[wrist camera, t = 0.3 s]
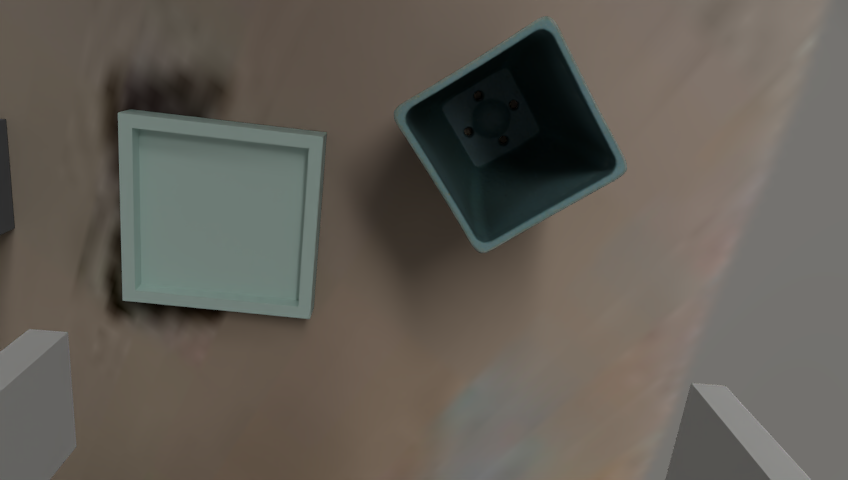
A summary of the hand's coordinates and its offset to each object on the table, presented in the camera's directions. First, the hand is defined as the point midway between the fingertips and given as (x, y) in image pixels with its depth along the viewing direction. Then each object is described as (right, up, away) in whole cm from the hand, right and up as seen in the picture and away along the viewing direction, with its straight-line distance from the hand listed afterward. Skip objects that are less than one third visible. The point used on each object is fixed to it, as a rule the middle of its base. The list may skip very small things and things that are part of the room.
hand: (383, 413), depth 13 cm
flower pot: (+5, +11, +26) cm, 29 cm away
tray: (-12, +5, +27) cm, 30 cm away
